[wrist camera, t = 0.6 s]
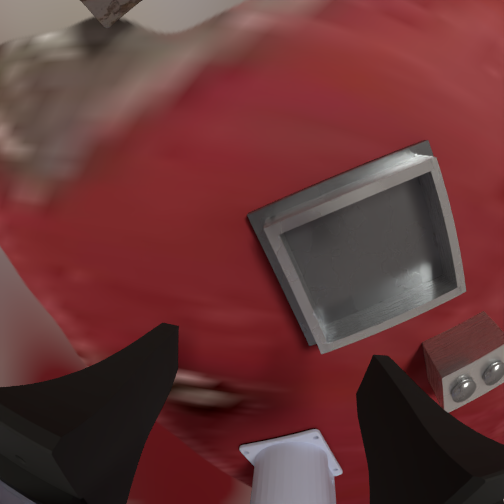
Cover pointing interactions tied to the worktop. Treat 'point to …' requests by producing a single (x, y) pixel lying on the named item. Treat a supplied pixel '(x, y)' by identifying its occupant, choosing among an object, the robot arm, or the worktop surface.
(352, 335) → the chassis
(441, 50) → the worktop surface
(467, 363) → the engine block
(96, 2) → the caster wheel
